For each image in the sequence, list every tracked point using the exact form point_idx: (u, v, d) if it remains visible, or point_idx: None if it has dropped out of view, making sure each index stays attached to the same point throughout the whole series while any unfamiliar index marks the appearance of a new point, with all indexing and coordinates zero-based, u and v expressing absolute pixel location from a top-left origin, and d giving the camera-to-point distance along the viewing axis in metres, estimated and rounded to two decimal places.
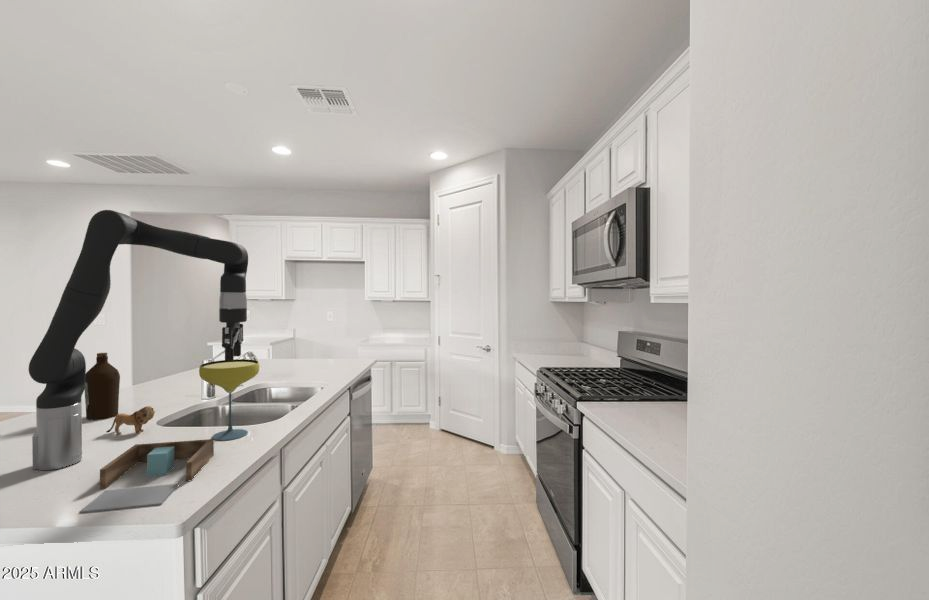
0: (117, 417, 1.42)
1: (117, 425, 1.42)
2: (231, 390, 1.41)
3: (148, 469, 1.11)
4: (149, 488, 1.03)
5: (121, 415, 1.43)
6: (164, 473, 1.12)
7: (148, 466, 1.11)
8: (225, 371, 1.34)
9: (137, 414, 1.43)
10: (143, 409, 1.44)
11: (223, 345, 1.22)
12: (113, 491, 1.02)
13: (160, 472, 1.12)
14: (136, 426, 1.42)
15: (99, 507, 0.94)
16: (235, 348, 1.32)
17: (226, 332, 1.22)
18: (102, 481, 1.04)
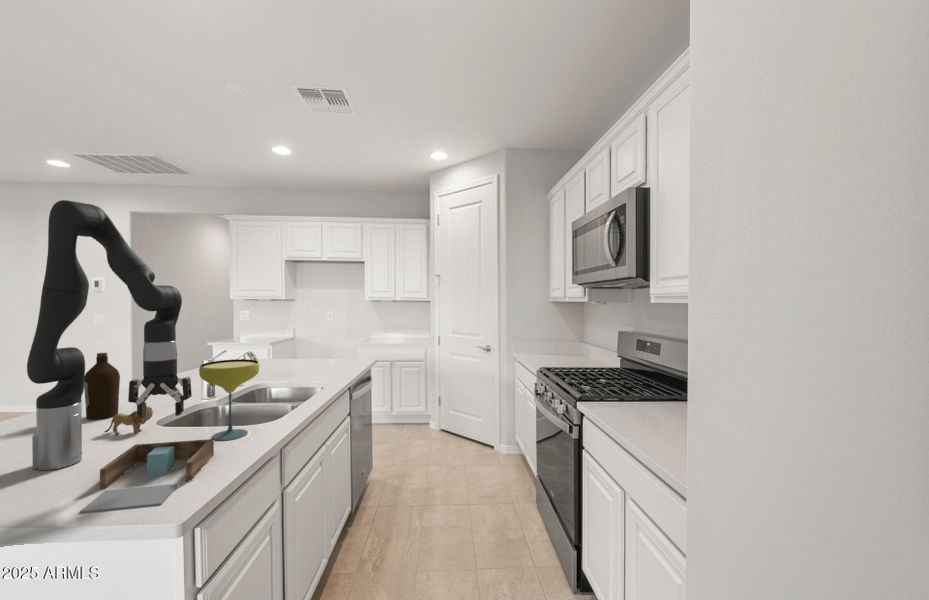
0: (115, 417, 1.42)
1: (115, 425, 1.42)
2: (231, 390, 1.41)
3: (148, 469, 1.11)
4: (149, 488, 1.03)
5: (119, 415, 1.43)
6: (164, 473, 1.12)
7: (148, 466, 1.11)
8: (225, 371, 1.34)
9: (135, 414, 1.43)
10: None
11: (188, 397, 1.14)
12: (113, 491, 1.02)
13: (160, 472, 1.12)
14: (134, 426, 1.42)
15: (99, 507, 0.94)
16: (143, 407, 1.12)
17: (188, 382, 1.15)
18: (102, 481, 1.04)
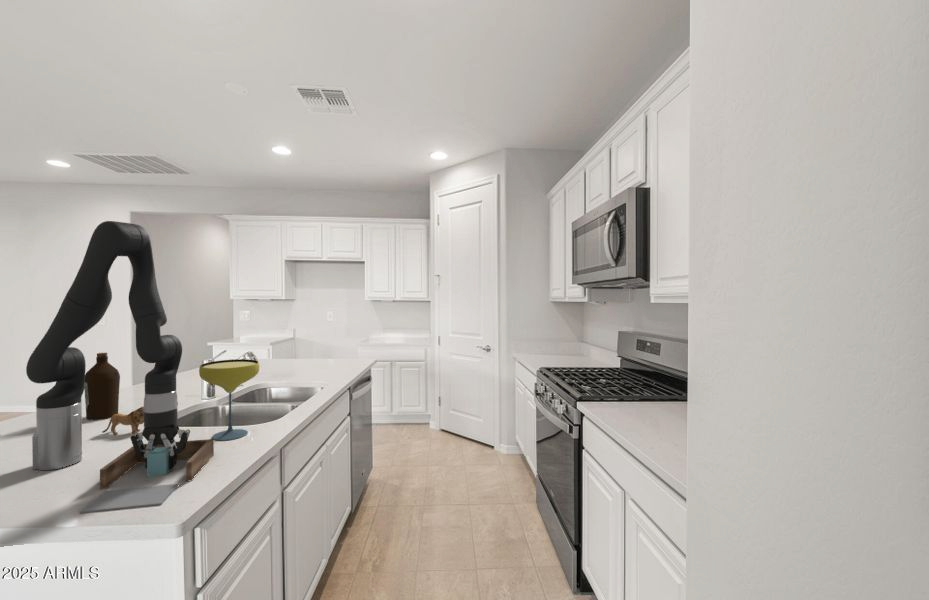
0: (113, 417, 1.42)
1: (113, 425, 1.42)
2: (231, 390, 1.41)
3: (148, 469, 1.11)
4: (149, 488, 1.03)
5: (117, 415, 1.43)
6: (164, 473, 1.12)
7: (148, 466, 1.11)
8: (225, 371, 1.34)
9: (133, 414, 1.43)
10: (140, 409, 1.44)
11: (181, 450, 1.14)
12: (113, 491, 1.02)
13: (160, 472, 1.12)
14: (133, 426, 1.42)
15: (99, 507, 0.94)
16: None
17: (187, 436, 1.15)
18: (102, 481, 1.04)
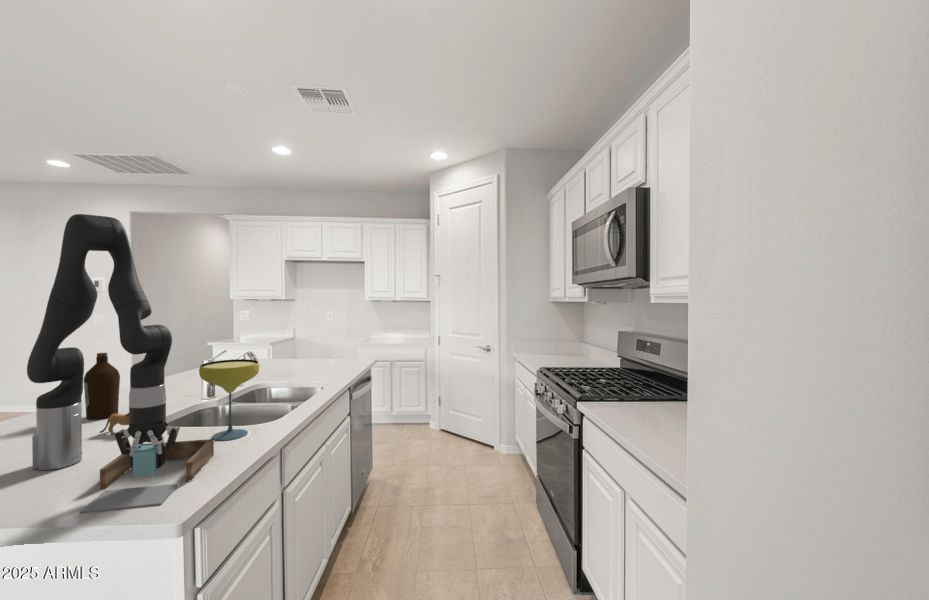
0: (111, 417, 1.42)
1: (111, 425, 1.42)
2: (231, 390, 1.41)
3: (134, 468, 1.03)
4: (149, 488, 1.03)
5: (115, 415, 1.42)
6: (151, 472, 1.04)
7: (134, 465, 1.03)
8: (225, 371, 1.34)
9: None
10: None
11: (170, 448, 1.07)
12: (113, 491, 1.02)
13: (147, 471, 1.04)
14: None
15: (99, 507, 0.94)
16: None
17: (176, 433, 1.08)
18: (102, 481, 1.04)
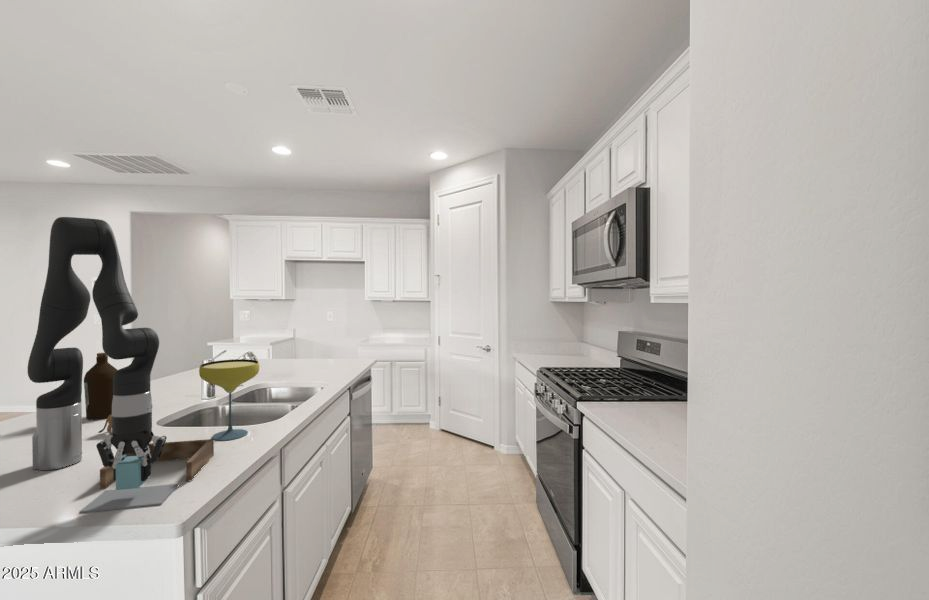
0: (110, 417, 1.42)
1: (110, 425, 1.42)
2: (231, 390, 1.41)
3: (117, 481, 0.96)
4: (149, 488, 1.03)
5: None
6: (135, 486, 0.97)
7: (117, 478, 0.96)
8: (225, 371, 1.34)
9: None
10: None
11: (156, 460, 1.00)
12: (113, 491, 1.02)
13: (131, 485, 0.97)
14: None
15: (99, 507, 0.94)
16: None
17: (162, 444, 1.01)
18: (102, 481, 1.04)
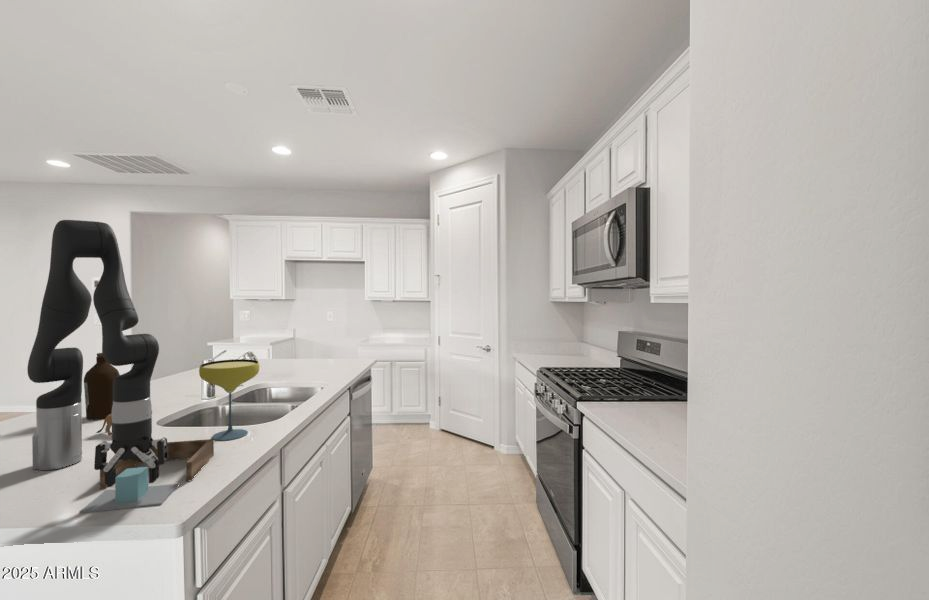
0: (108, 417, 1.42)
1: (108, 425, 1.42)
2: (231, 390, 1.41)
3: (116, 494, 0.96)
4: (149, 488, 1.03)
5: None
6: (135, 498, 0.97)
7: (116, 491, 0.96)
8: (225, 371, 1.34)
9: None
10: None
11: (164, 461, 1.00)
12: (113, 491, 1.02)
13: (130, 497, 0.97)
14: None
15: (99, 507, 0.94)
16: (112, 475, 0.98)
17: (164, 445, 1.01)
18: (102, 481, 1.04)
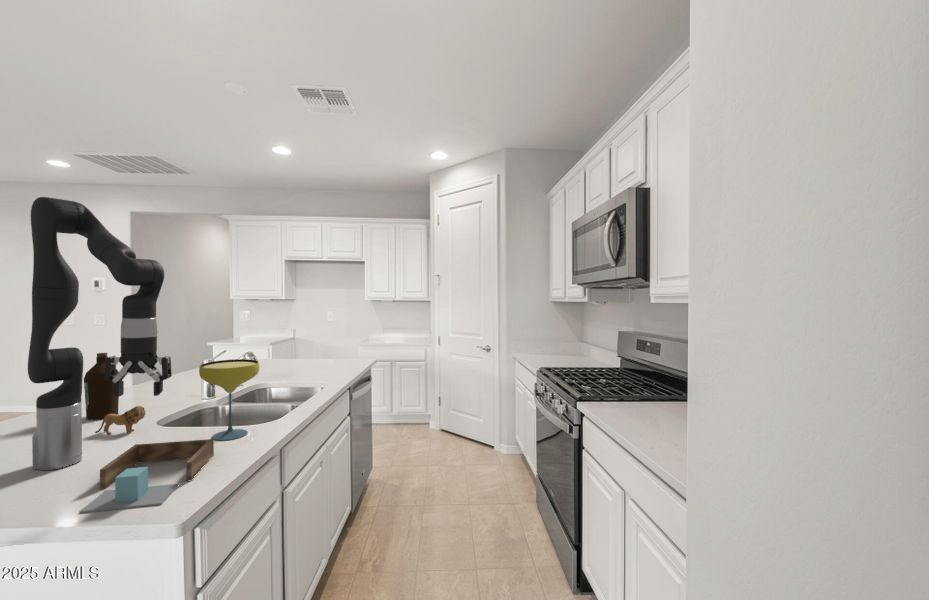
0: (107, 417, 1.42)
1: (107, 425, 1.42)
2: (231, 390, 1.41)
3: (116, 494, 0.96)
4: (149, 488, 1.03)
5: (111, 415, 1.42)
6: (135, 498, 0.97)
7: (116, 491, 0.96)
8: (225, 371, 1.34)
9: (128, 414, 1.43)
10: (134, 409, 1.44)
11: (168, 376, 1.09)
12: (113, 491, 1.02)
13: (130, 497, 0.97)
14: (127, 426, 1.42)
15: (99, 507, 0.94)
16: (120, 386, 1.07)
17: (168, 362, 1.10)
18: (102, 481, 1.04)
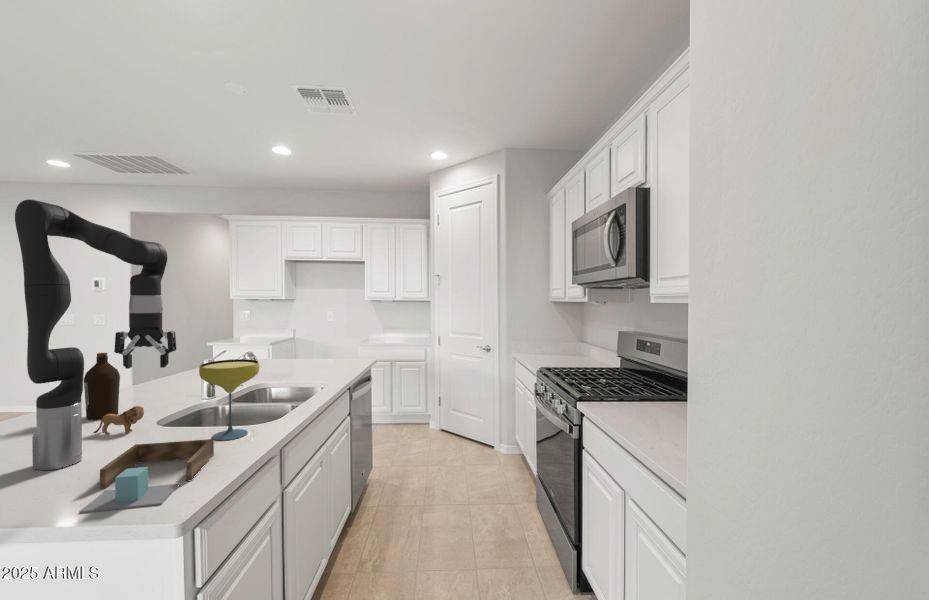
0: (105, 417, 1.42)
1: (105, 425, 1.42)
2: (231, 390, 1.41)
3: (116, 494, 0.96)
4: (149, 488, 1.03)
5: (109, 415, 1.42)
6: (135, 498, 0.97)
7: (116, 491, 0.96)
8: (225, 371, 1.34)
9: (126, 414, 1.43)
10: (133, 409, 1.44)
11: (173, 349, 1.18)
12: (113, 491, 1.02)
13: (130, 497, 0.97)
14: (126, 426, 1.42)
15: (99, 507, 0.94)
16: (129, 359, 1.16)
17: (173, 336, 1.19)
18: (102, 481, 1.04)
